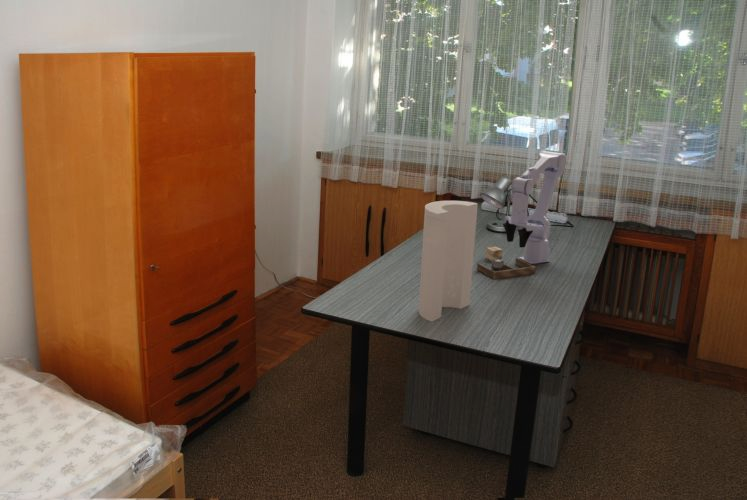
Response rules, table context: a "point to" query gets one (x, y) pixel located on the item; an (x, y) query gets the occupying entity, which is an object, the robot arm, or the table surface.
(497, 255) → the maple block
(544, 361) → the table surface
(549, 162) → the robot arm
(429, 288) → the white curved column
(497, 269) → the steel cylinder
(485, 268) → the rack
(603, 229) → the table surface
